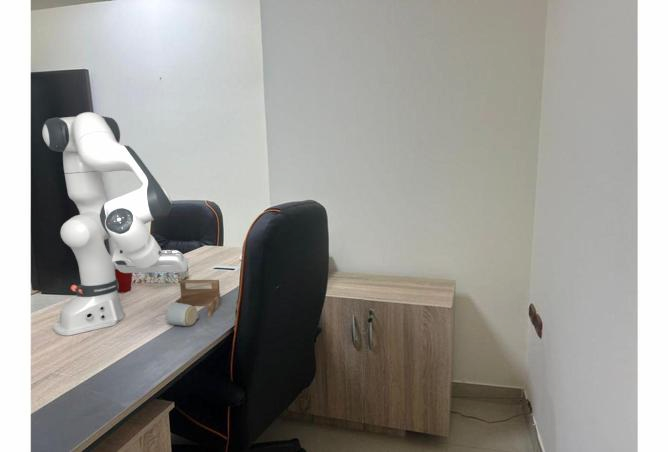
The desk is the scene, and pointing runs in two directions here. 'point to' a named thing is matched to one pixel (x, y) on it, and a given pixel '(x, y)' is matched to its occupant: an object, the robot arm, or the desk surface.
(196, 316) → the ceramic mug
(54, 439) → the desk surface
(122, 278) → the plastic cup
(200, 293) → the display bay
